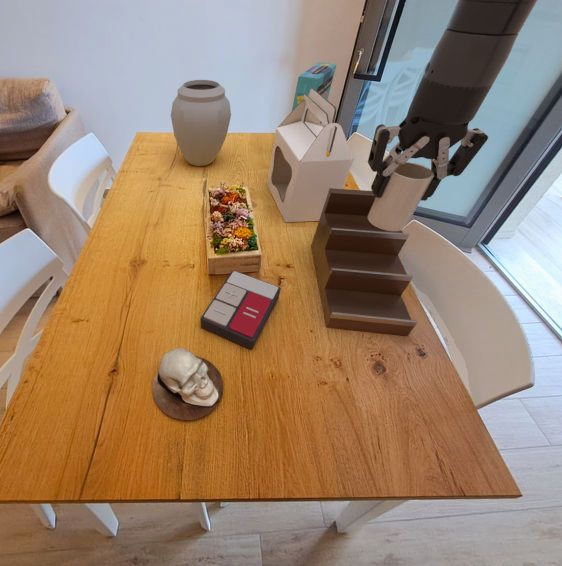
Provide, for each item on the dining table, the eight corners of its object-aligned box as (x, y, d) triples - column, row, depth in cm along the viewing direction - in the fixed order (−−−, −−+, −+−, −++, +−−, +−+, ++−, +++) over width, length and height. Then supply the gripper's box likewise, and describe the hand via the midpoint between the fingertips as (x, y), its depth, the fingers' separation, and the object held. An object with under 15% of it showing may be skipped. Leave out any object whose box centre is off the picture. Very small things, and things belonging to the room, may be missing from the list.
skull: (241, 375, 57) (221, 382, 47) (210, 425, 57) (185, 441, 48) (188, 336, 62) (161, 336, 53) (161, 382, 63) (130, 389, 54)
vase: (226, 150, 125) (231, 76, 108) (228, 174, 111) (235, 94, 94) (174, 150, 126) (171, 76, 108) (170, 174, 112) (166, 94, 95)
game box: (298, 169, 113) (319, 78, 94) (280, 164, 116) (298, 75, 97) (315, 147, 126) (337, 63, 107) (299, 144, 128) (318, 61, 109)
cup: (412, 221, 56) (440, 170, 49) (396, 235, 53) (424, 184, 47) (377, 207, 59) (399, 158, 53) (360, 220, 56) (382, 170, 50)
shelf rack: (407, 336, 63) (454, 275, 52) (326, 327, 65) (354, 267, 54) (373, 251, 82) (402, 192, 70) (310, 246, 83) (329, 188, 72)
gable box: (266, 183, 106) (283, 85, 87) (306, 182, 107) (332, 83, 87) (285, 223, 90) (311, 114, 71) (332, 221, 91) (371, 111, 71)
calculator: (199, 316, 63) (232, 267, 71) (199, 329, 66) (231, 280, 74) (254, 339, 59) (282, 284, 67) (251, 352, 62) (278, 298, 70)
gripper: (406, 82, 39) (356, 206, 51) (541, 86, 38) (457, 212, 49) (388, 67, 44) (346, 182, 56) (505, 69, 43) (437, 187, 55)
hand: (398, 196), depth 53 cm, fingers closed on cup, 6 cm apart
